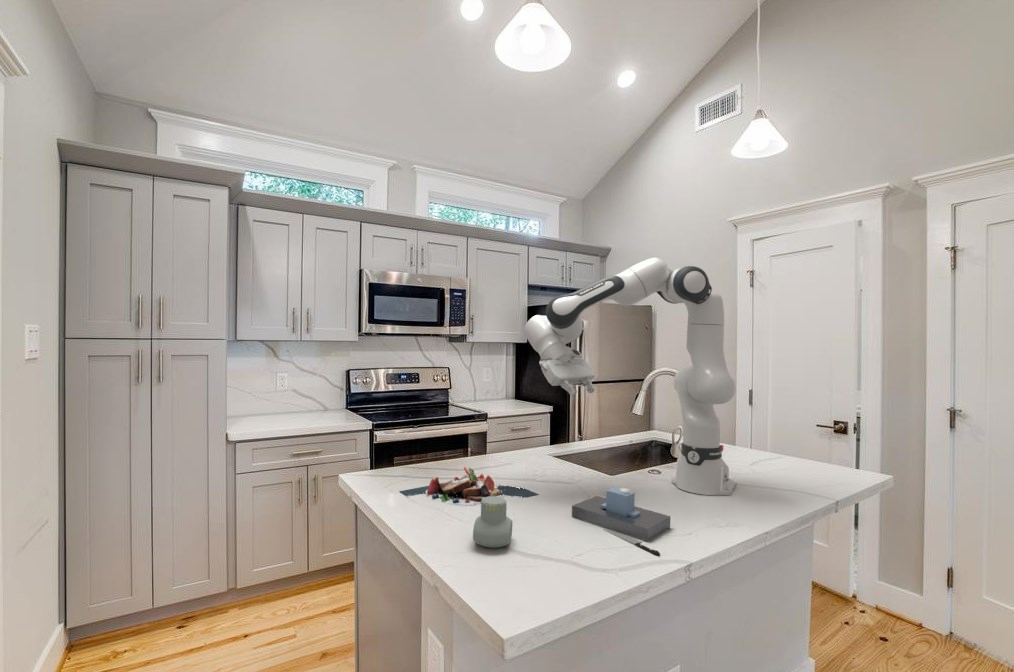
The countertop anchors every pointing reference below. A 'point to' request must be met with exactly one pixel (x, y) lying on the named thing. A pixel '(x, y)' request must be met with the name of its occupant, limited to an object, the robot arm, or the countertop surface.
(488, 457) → the countertop surface
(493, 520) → the air freshener
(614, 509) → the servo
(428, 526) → the countertop surface
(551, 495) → the countertop surface
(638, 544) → the chef's knife
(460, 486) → the platter
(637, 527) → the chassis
